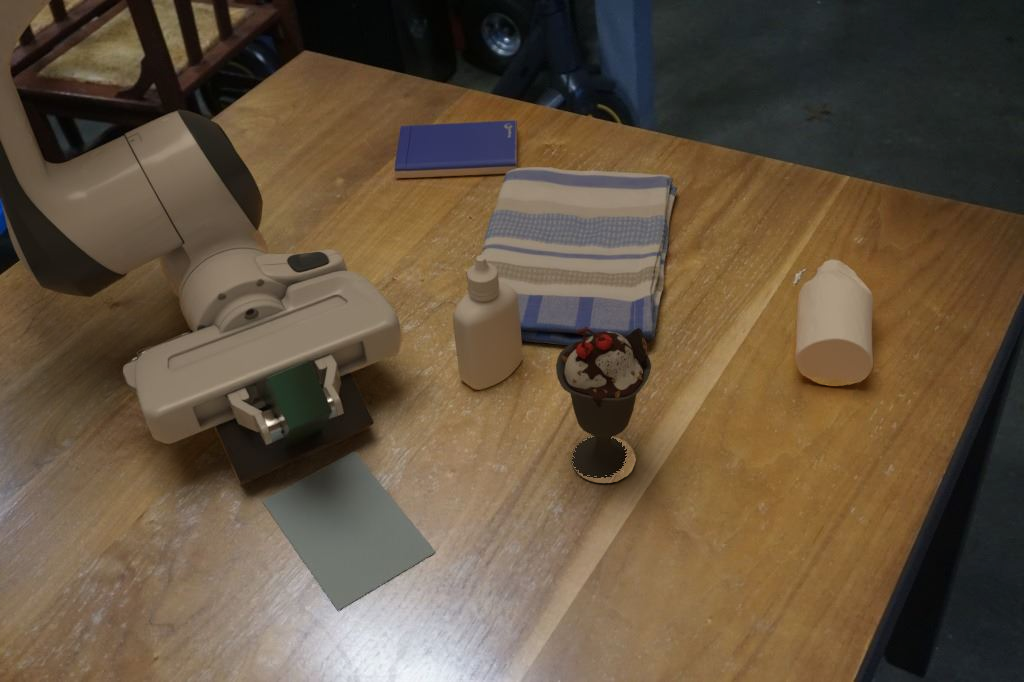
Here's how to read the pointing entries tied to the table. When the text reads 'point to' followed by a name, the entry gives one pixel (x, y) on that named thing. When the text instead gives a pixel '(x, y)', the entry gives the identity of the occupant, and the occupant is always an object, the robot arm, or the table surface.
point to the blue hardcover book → (456, 149)
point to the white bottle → (834, 325)
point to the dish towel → (581, 250)
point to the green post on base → (294, 423)
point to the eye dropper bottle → (487, 328)
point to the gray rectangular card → (347, 529)
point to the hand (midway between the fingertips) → (304, 423)
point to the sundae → (603, 394)
